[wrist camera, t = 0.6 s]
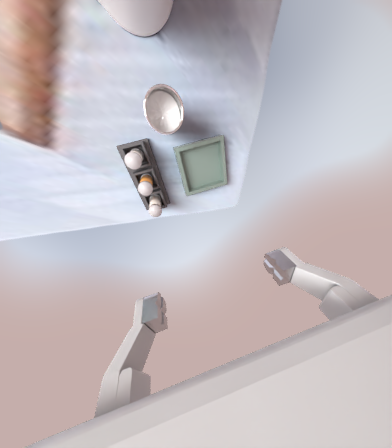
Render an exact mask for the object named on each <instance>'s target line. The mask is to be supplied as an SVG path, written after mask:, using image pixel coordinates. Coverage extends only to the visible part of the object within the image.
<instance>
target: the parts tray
mask: <svg viewBox="0 0 392 448" xmlns="http://www.w3.org/2000/svg"><path fill="white" fill-rule="evenodd" d="M173 149H174V153H175V156H176V160H177V164H178V167H179V171H180V175H181V179H182V182H183V186H184V190H185V193H186V195H187V196H189V195H193V194H196V193H199V192H203V191H206V190H209V189H213V188H216V187H219V186H223V185H226V184H227V174H226V161H225V147H224V135H218V136H214V137H210V138H207V139H203V140H199V141H196V142H192V143H188V144H184V145H181V146H177V147H173Z"/></svg>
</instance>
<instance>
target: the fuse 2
mask: <svg viewBox="0 0 392 448" xmlns="http://www.w3.org/2000/svg"><path fill="white" fill-rule="evenodd" d="M161 213H162V209H161V198H160V196H159V195H158V194H154V195H151V196H150V205H149V214H150V215H151V216H153V217H158V216H160V215H161Z"/></svg>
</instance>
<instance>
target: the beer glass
mask: <svg viewBox="0 0 392 448" xmlns="http://www.w3.org/2000/svg"><path fill="white" fill-rule="evenodd" d="M144 114H145V118H146V121H147V123H148V124H149V126H150V127H151V128H152V129H153V130H154V131H155V132H156V133H158V134H161V135H170V134H173V133H174V132H176V131H177V130H178V129H179V128H180V126H181V125H182V122H183V118H184V107H183V103H182V100H181V98H180V96H179V95H178V93H177V92H176V91H175V90H174V89H173V88H172V87H170V86H168V85H165V84H157V85H154V86H153V87H151V88H150V89H149V90H148V92H147V94H146V96H145V99H144Z"/></svg>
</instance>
